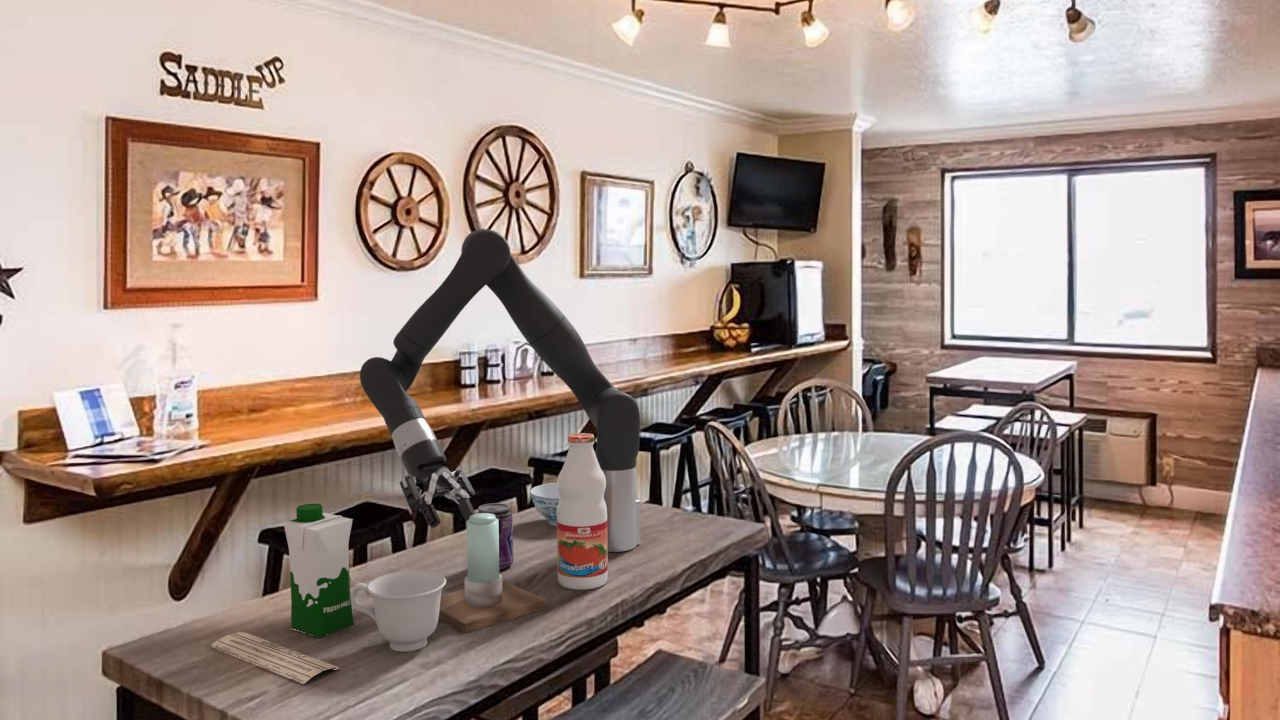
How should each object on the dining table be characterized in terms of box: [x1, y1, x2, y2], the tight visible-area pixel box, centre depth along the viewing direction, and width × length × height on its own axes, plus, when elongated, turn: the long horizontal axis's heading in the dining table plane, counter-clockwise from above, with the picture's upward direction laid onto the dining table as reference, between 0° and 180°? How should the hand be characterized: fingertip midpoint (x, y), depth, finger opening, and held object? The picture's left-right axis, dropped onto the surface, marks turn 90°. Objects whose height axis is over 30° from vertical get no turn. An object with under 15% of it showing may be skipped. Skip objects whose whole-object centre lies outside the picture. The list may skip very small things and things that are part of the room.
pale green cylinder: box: [466, 513, 500, 583], centre depth 158 cm, size 5×5×11 cm
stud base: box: [438, 573, 546, 634], centre depth 158 cm, size 16×14×6 cm
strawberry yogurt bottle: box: [556, 432, 609, 591], centre depth 170 cm, size 9×9×28 cm
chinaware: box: [529, 482, 560, 527], centre depth 212 cm, size 15×15×8 cm
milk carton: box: [283, 503, 355, 638], centre depth 150 cm, size 9×9×20 cm
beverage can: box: [477, 502, 514, 571], centre depth 181 cm, size 7×7×12 cm
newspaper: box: [211, 631, 341, 683], centre depth 139 cm, size 24×7×2 cm, turn 56°
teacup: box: [350, 570, 447, 653], centre depth 143 cm, size 12×15×10 cm
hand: (454, 522), depth 167 cm, fingers open, 8 cm apart
